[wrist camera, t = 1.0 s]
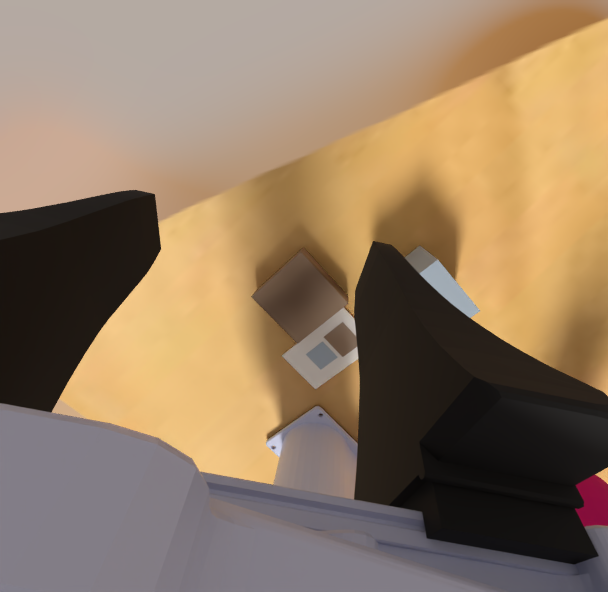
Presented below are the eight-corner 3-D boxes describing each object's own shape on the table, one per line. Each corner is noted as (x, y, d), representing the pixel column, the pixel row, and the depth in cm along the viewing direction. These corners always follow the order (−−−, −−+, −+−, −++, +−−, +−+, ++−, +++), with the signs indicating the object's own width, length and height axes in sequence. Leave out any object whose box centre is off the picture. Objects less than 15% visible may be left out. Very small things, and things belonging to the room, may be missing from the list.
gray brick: (454, 287, 28) (480, 310, 23) (407, 321, 29) (421, 350, 24) (419, 245, 27) (437, 259, 22) (372, 282, 29) (379, 303, 23)
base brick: (347, 296, 29) (348, 303, 27) (300, 334, 31) (297, 343, 29) (303, 247, 28) (300, 251, 26) (257, 289, 30) (251, 296, 28)
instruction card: (377, 343, 30) (377, 345, 30) (315, 388, 33) (315, 389, 33) (343, 306, 30) (343, 307, 29) (282, 355, 32) (281, 356, 32)
